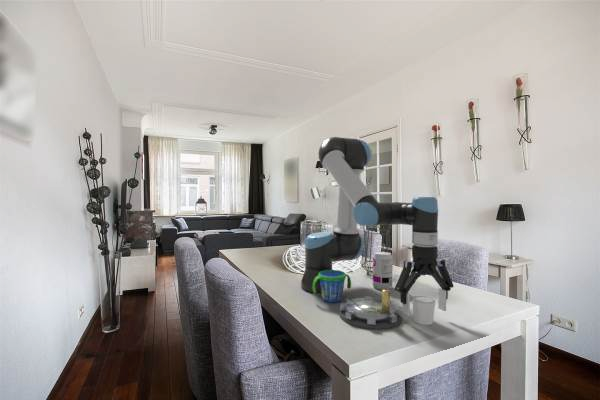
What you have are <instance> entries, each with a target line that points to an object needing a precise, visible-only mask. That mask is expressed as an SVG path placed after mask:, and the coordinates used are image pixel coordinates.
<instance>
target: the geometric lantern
mask: <svg viewBox="0 0 600 400" xmlns="http://www.w3.org/2000/svg"><path fill="white" fill-rule="evenodd" d="M375 226H377V228H378V229H375V231H377V232H373V230H374V229H373V228H375ZM384 226H385V227H386V230H385V229H381V228H380V225H374V226H367V227H368V229H365V226H362V227H363V228H362V229H363V233H364V234H363V241H364V250H363V253H362V255H361V267H362V268H363V269H364V270H365V271H366V275H367V276H371V274H370V272H371V273H373V266H371V263H373V260H372V245H373V244H372V243H373V235H374V234H375V235H381V238H382V244H381V246H382V251H381V252H389V253H391V254H392V252H391V234H390V233H391V232H390V231H391V227H392V225H388V227H387V225H384ZM370 231H371V232H370ZM379 232H380V233H379ZM383 232H386V233H383ZM384 235H385V242H384ZM369 236H370V237H369ZM369 238H370V248H369ZM384 243H385V244H384ZM384 245H385V249H386V251H384V250H385V249H384ZM368 248H369V251H370V252H369V260H367V259H368ZM368 263H369V265H368Z"/></svg>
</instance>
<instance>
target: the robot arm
mask: <svg viewBox="0 0 600 400" xmlns="http://www.w3.org/2000/svg"><path fill="white" fill-rule="evenodd" d="M371 155H372V154H371V148H370V146H369V145H368V143H367V142H366V141H365V140H361V139H357V138H349V137H340V136H332V137H329V138H327V139H324V141H323V142H322V143H321V144H320V146H319V149H318V159H319V162H320V165H321V166H322V167H323V169H325V170H326V171H328V172H329V173H330V175H331V177H333V179H334V180H335V182H336V183H337V184H338V186H339V190H338V191H339V192H338V204H337V205H338V206H337V220H336V221H337V222H336V227H335V228H334V229H333V232H330V231H322V232H321V231H318V232H314V233H310V234H308V235H307V236H306V237H305V245H304V249H305V254H304V256H305V258H304V259H305V260H304V261H305V263H304V264H305V265H304V268H305V269H304V272H303V276H302V278H301V281H300V288H301V289H302V290H304V291H306V292H310V293H314V292H313V289H312V286H313V281H314V279H315V277H316V276H318V274H319V272H321V271H324V270H333V262H334V263H336V262H342V261H344V262H345V261H352V260H356V259H359V258H360V257H362V253H363V250H364V251H365V243H364V237H363V236H362V235H361V234H360V231H359V229H358V228H357V225H358V226H362V227H363V226H364V227H368V226H369V227H370V226H371V227H373V226H374V225H375V226H377V225H378V226H385V225H386V226H390V225H391V226H393V225H405V226H407V225H408V226H412V228H411V229H412V230H411V231H412V232H411V235H412V237H411V243H412V246H411V247H412V248H411V253H412V254H411V257H412V261H408V260H404V262H403V267H402V270H401V272H400V275H399V277H398V279H397V282H396V284H395V285H394V290H395V291H396V292H397V293H398V292H399V293H400V304H401V305H402V306H401V307H402V308H401V313H402V314H404V315H407V316H410V315H411V314H410V313H411V311H410V310H411V309H410V308H411V303H410V302H411V294H410V293H409V291H410V290H411V289H412V287H413V286H414V285H415V282H416V281H417V280H418V279H419V278H420V277H421V276H426V275H428V276H432V278H433V279H434V280H435V282H436V283H437V285H438V286H439V287H440V288H439V287H438V289H437V290H438V292H437V293H438V295H437V297H438V300H437V301H438V305H437V306H438V307H437V308H438V309H439V310H442V311H443V312H446V311H447V300H448V298H449V294H448V293H449V292H450V291H451V290H452V288H454V283H453V281H452V278H451V276H450V273H449V272H448V269H447V265H446V260H445V259H442V258H438V256H439V251H438V250H439V247H438V246H437V245H438V243H439V242H438V241H439V237H438V233H439V230H438V220H439V219H438V218H439V208H438V206H439V204H438V199H437V197H434V196H414V197H413V198H412V200H411V201H412V202H398V201H396V202H394V201H393V202H379V201H378V200H377V198H376V197H375V196H374V195H373V194H372V192H371V191H370V190H369V189H368V188H367V186H366V185H365V183H364V182H363V180H361V177H360V176H361V173H363V172H364V171H365V167H366V166H367V165H368V164H369V162H370V160H371ZM375 226H374V227H375ZM363 254H364V253H363ZM436 267H437V268H436ZM315 288H316V293H321V286H320V280H319V279H318V280H317V282H316V283H315ZM321 294H322V293H321Z"/></svg>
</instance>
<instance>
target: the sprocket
mask: <svg viewBox="0 0 600 400" xmlns="http://www.w3.org/2000/svg"><path fill="white" fill-rule="evenodd" d="M339 311H346V318H348V319H350V320H352V319H357V320H360V321H365V322H367V324H372V325H376V322H386V321H387V322H390V323H394V322H397V316H396V315H398V316H401V317H402V308H401V307H400V306H394V305H393V301H391V289H389V290H387V289H383V290H381V299H379V298H373V296H367V295H366V296H365V297H355V298H354V297H347V298H346V302H345V303H344V302H339Z"/></svg>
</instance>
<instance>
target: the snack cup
mask: <svg viewBox="0 0 600 400" xmlns="http://www.w3.org/2000/svg"><path fill="white" fill-rule="evenodd" d="M346 278H347V282H346V283H347V284H346V288H347V289H348V290H351V288H352V280H351V277H350V275H349V274H347V273H346V272H344V271H342V270H337V269H332V270H324V271H321V272H319V274H318V276H316V277H315V279H314V281H313V286H312V289H313V292H312V293H314V294H316V293H317V292H316V288H315V283H316V282H317V280H318V279H319V280H320V286H321V298H322V300H323V301H325V302H328V303H337V302H341V301H342V299H343V295H344V289H345V281H346Z"/></svg>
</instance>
